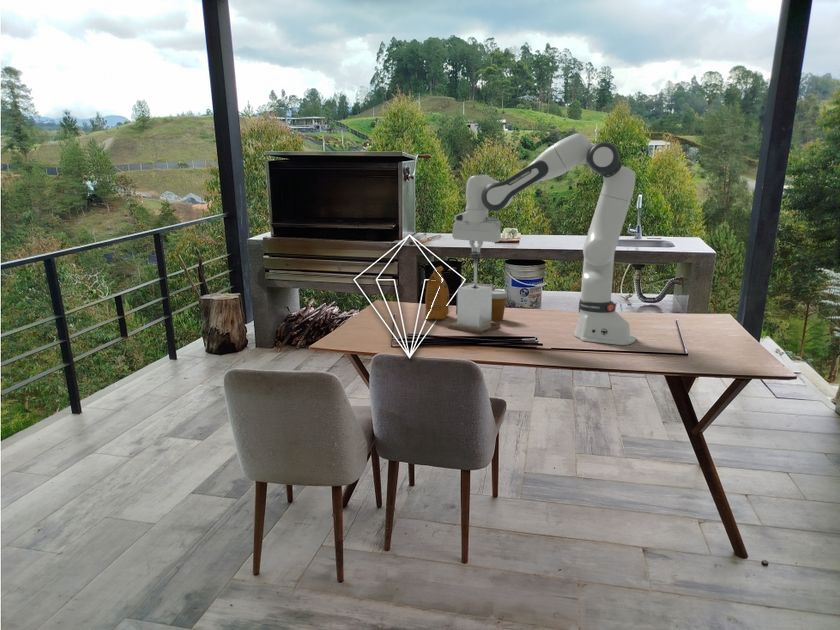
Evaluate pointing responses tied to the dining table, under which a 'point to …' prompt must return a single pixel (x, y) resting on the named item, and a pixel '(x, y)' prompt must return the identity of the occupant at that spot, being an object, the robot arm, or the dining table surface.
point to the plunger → (475, 266)
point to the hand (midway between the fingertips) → (475, 252)
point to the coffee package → (442, 297)
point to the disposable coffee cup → (498, 305)
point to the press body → (474, 310)
